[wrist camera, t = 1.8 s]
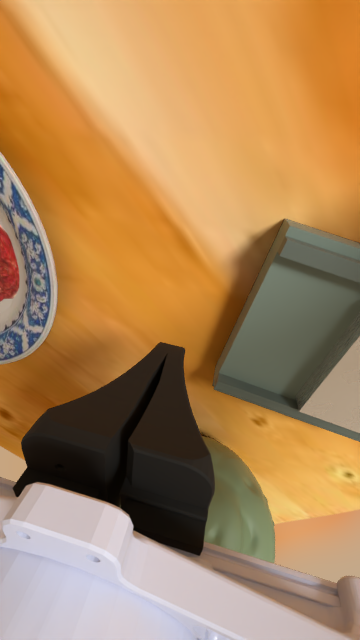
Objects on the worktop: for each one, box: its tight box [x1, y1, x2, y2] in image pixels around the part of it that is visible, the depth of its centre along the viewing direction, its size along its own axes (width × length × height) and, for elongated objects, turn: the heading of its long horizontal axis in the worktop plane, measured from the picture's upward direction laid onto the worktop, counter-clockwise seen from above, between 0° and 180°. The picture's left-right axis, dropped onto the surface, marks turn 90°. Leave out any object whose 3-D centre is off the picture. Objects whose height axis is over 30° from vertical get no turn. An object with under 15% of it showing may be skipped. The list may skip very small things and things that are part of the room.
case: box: [213, 219, 360, 442], centre depth 20 cm, size 14×14×4 cm
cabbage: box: [120, 436, 275, 563], centre depth 24 cm, size 16×19×20 cm
